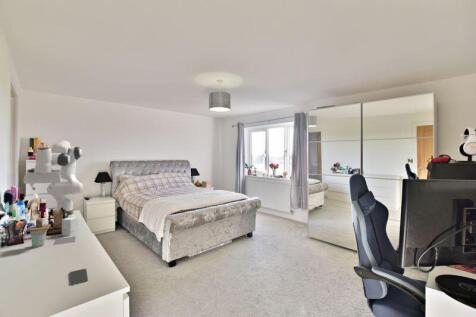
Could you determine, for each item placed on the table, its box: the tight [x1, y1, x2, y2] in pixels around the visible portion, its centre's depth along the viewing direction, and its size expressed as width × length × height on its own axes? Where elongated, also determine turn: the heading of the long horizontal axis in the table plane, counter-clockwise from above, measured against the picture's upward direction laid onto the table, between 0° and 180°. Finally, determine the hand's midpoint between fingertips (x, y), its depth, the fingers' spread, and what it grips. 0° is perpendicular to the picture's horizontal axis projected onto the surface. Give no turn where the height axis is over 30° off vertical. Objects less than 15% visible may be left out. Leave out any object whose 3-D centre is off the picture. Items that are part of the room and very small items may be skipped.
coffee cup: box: [29, 230, 47, 249], centre depth 149 cm, size 8×8×12 cm
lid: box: [25, 218, 51, 233], centre depth 149 cm, size 11×11×6 cm
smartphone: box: [68, 268, 89, 286], centre depth 110 cm, size 7×1×15 cm
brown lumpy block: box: [46, 208, 66, 236], centre depth 178 cm, size 15×15×20 cm
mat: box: [53, 235, 76, 246], centre depth 160 cm, size 14×12×1 cm
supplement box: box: [61, 217, 79, 237], centre depth 175 cm, size 7×7×13 cm
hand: (42, 189), depth 158 cm, fingers open, 8 cm apart
